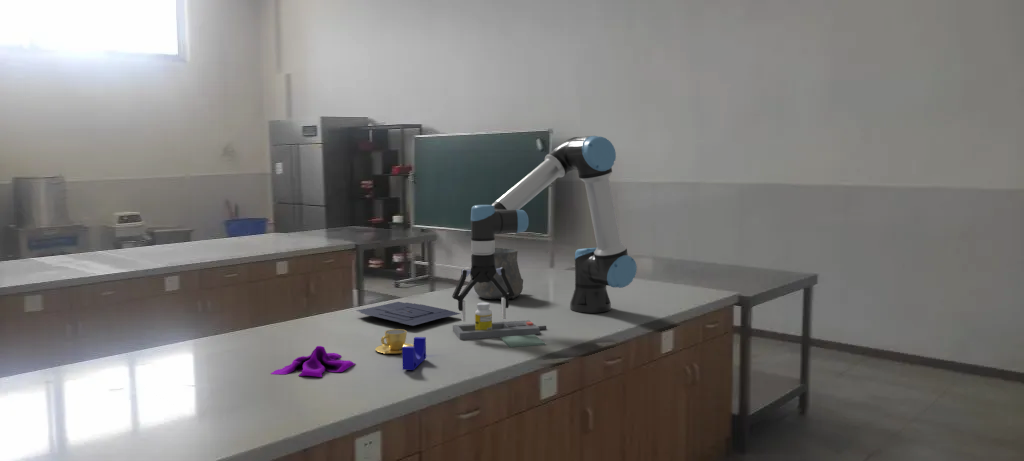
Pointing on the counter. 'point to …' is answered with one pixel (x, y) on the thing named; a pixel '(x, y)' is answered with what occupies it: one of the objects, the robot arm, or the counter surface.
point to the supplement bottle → (483, 317)
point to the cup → (393, 341)
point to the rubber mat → (522, 340)
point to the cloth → (316, 364)
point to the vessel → (510, 264)
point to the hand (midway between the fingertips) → (483, 319)
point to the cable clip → (414, 353)
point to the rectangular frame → (498, 330)
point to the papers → (407, 312)
